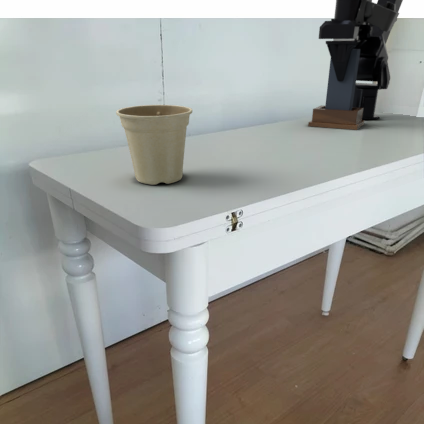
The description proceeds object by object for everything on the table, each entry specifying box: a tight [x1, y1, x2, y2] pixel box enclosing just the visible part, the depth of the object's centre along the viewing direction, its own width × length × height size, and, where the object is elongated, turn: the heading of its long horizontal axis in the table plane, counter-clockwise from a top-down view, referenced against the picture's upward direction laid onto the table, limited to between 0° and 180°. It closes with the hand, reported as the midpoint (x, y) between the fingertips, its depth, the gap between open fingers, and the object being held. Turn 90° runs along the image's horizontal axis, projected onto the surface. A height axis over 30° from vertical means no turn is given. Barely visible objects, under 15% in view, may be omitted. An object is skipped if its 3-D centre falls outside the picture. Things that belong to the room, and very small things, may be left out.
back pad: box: [324, 49, 360, 110], centre depth 90 cm, size 2×5×12 cm, turn 62°
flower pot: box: [115, 104, 193, 186], centre depth 58 cm, size 9×9×9 cm
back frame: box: [307, 105, 366, 131], centre depth 93 cm, size 7×10×3 cm
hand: (342, 80), depth 90 cm, fingers closed on back pad, 2 cm apart
